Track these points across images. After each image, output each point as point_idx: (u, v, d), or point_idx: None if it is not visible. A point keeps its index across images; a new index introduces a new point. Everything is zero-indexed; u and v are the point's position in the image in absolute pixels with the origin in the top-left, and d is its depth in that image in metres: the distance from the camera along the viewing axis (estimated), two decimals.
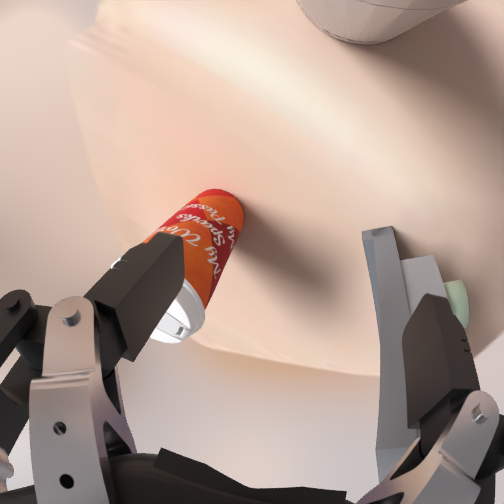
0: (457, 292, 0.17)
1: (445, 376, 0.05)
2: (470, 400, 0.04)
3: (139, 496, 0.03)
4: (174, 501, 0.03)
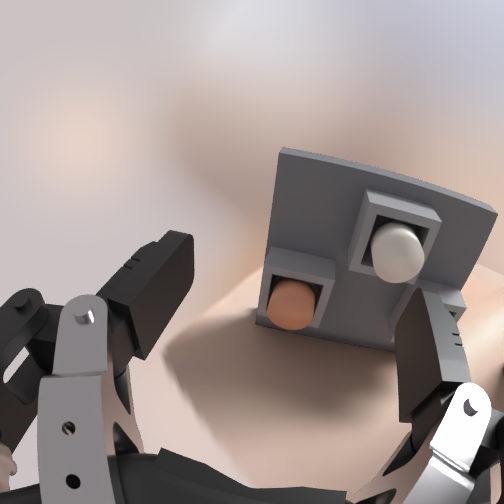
0: None
1: (436, 368, 0.05)
2: (459, 393, 0.05)
3: (139, 496, 0.03)
4: (174, 501, 0.03)
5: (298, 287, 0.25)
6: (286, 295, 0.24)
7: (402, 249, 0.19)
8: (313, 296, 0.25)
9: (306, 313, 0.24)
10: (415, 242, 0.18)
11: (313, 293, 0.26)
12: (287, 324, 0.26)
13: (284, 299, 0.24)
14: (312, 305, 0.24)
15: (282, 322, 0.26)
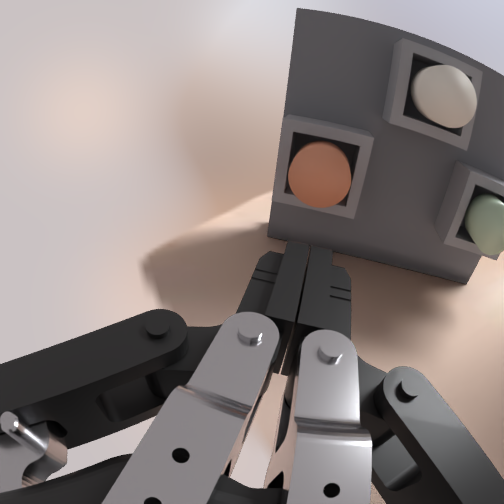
0: None
1: (298, 313, 0.07)
2: (306, 346, 0.06)
3: None
4: None
5: (329, 145, 0.18)
6: (315, 147, 0.17)
7: (450, 80, 0.12)
8: (348, 162, 0.18)
9: (341, 176, 0.17)
10: (462, 73, 0.11)
11: (347, 159, 0.18)
12: (316, 198, 0.18)
13: (312, 152, 0.17)
14: (349, 167, 0.17)
15: (309, 195, 0.18)
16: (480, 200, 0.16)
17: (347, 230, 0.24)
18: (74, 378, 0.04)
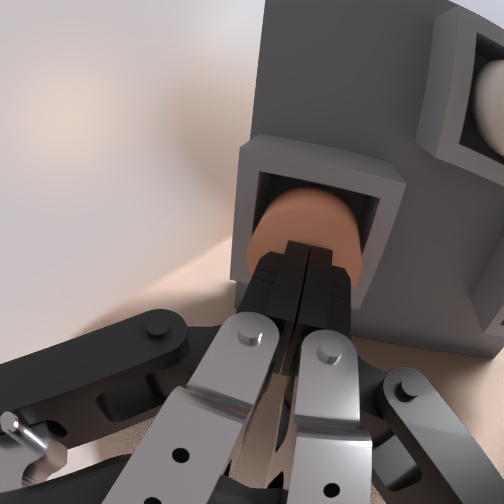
0: None
1: (298, 313, 0.07)
2: (306, 346, 0.06)
3: None
4: None
5: (324, 199, 0.10)
6: (295, 210, 0.09)
7: None
8: (356, 226, 0.10)
9: (344, 262, 0.09)
10: None
11: (355, 221, 0.11)
12: None
13: (289, 220, 0.09)
14: (358, 242, 0.10)
15: None
16: None
17: None
18: (74, 378, 0.04)
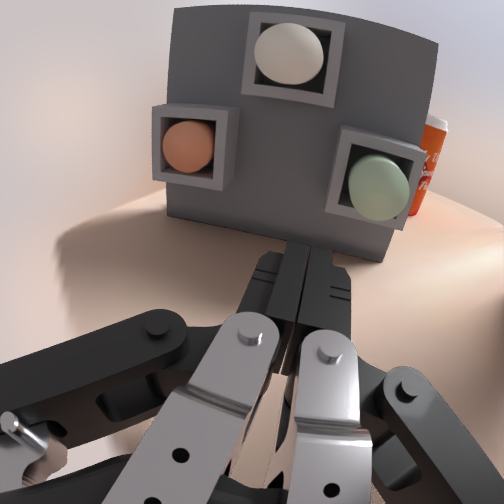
0: None
1: (299, 313, 0.07)
2: (306, 346, 0.06)
3: None
4: None
5: (196, 120, 0.21)
6: None
7: (287, 37, 0.13)
8: (215, 132, 0.21)
9: (201, 143, 0.20)
10: (302, 27, 0.13)
11: None
12: (185, 164, 0.21)
13: (177, 127, 0.20)
14: (210, 135, 0.20)
15: (179, 162, 0.21)
16: (360, 160, 0.18)
17: (234, 205, 0.26)
18: (74, 378, 0.04)
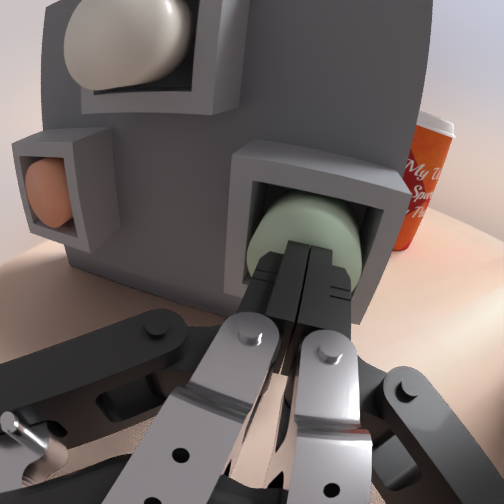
0: None
1: (298, 313, 0.07)
2: (306, 346, 0.06)
3: None
4: None
5: None
6: (34, 163, 0.12)
7: (103, 5, 0.05)
8: None
9: (55, 190, 0.12)
10: None
11: None
12: (48, 217, 0.14)
13: (32, 169, 0.12)
14: (65, 177, 0.13)
15: (44, 214, 0.14)
16: (276, 202, 0.11)
17: (129, 261, 0.18)
18: (74, 378, 0.04)
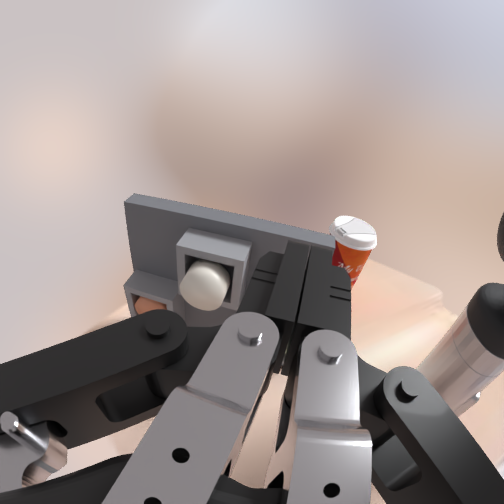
0: None
1: (298, 313, 0.07)
2: (306, 346, 0.06)
3: None
4: None
5: None
6: (143, 299, 0.31)
7: (199, 285, 0.25)
8: None
9: None
10: (208, 280, 0.24)
11: None
12: None
13: (142, 301, 0.31)
14: (164, 307, 0.32)
15: None
16: None
17: None
18: (74, 378, 0.04)
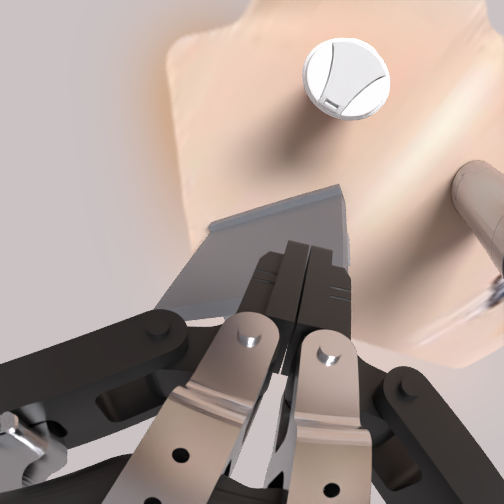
0: None
1: (298, 313, 0.07)
2: (306, 346, 0.06)
3: None
4: None
5: None
6: None
7: None
8: None
9: None
10: None
11: None
12: None
13: None
14: None
15: None
16: None
17: None
18: (74, 378, 0.04)
